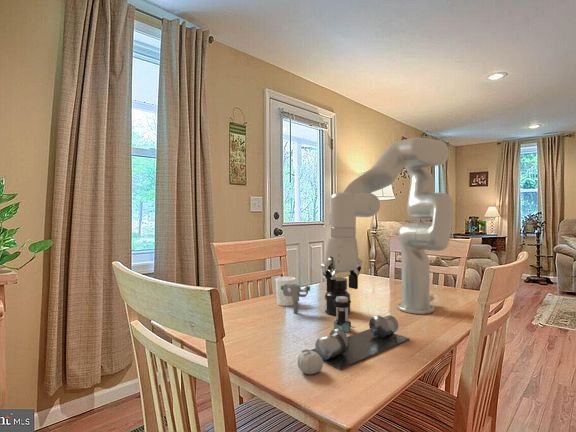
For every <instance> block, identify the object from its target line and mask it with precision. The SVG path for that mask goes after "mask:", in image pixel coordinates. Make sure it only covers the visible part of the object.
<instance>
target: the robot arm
mask: <svg viewBox="0 0 576 432" xmlns="http://www.w3.org/2000/svg"><path fill="white" fill-rule="evenodd" d="M449 156H450V149H449V147H448V146H447V143H445V142H444V141H442V140H440V139H435V138H434V139H432V138H426V137H411V138H408V139H401V140H397V141H394V142H392V143H390V144H389V145H388V146H387V147H386V149H385V150H384V151H383V153H382V154H381V155H380V157H379V158H378V159H377V160H376V162H375V163H374V165H373V166H372V167H371V168H369V169H368V170H366V171H365V172H363V173H362V174H361V175H359V176H357V178H355V179H353V180H352V181H351V182H349V184H348V185H347V186H346V187H345V188H344V189H343V190H342V192H335V193H333V194H331V196H330V237H329V238H328V240H327V245H326V252H325V261H324V262H322V264H320V268H321V271H322V274H323V276H324V278H325V279H326V292H330V293H336V280H335V279H334V278H335V277H337V274H338V273H346V272H347V273H349V274H348V288H349V289H354V290H358V288H359V276H360V272H361V271H362V266H363V263H364V262H363V259H361V258H359V251H358V248H359V247H358V241H357V238H356V237H357V235H356V234H357V231H356V230H357V229H356V228H357V227H356V226H357V224H356V223H357V218H371V217H374V216H375V215H377V214H378V213H379V211H380V208H381V202H380V199H379V197H377V195H375V194H373V193H375V192H377V191H380V190H383V189H385V188H386V187H389V186H391V185H392V184H393V183H395V181H396V179H397V178H398V176H399V174H401V172H402V171H403V169H404V168H405V170H406V172H407V173H408V176H409V180H410V181H409V182H410V183H409V192H408V198H407V204H406V212H407V215H408V217H409V218H410V219H414V220H422V221H423V220H428V221H429V220H430V221H431V220H432V221H431V222H419V221H418V222H416V221H415V222H407V223H404V224H403V225H401V227H400V228H399V229H398V235H397V236H398V241H399V247H400V255H401V302H399V303H397V305H396V306H397V307H396V308H397V309H398V310H399V311H402V312H404V313H408V314H413V315H414V314H415V315H417V314H418V315H427V314H432V313H434V311H435V307H434V306H433V304H431V301H434V300H435V296H434V295H432V294H431V295H430V259H429V257H428V254H427V252H426V251H432V252H433V251H435V252H438V251H439V252H441V251H444V250H446V248H447V247H448V246H449V244H450V240H451V234H452V226H453V219H454V211H455V210H454V209H455V207H454V201H453V198H452V197H451V196H450V195H449V194H448V193H445V192H435V187H436V183H435V182H436V180H435V177H434V176H433V174H432V173H431V171H430V170H429V169H428V167H436V166H441V165H443V164H445V163H446V162H447V161H448V159H449Z"/></svg>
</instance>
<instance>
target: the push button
mask: <svg viewBox="0 0 576 432" xmlns="http://www.w3.org/2000/svg"><path fill="white" fill-rule="evenodd" d="M333 302H334V306H335V307H336V315H335V320H334V322H333V330H334V329H341V330H342V331H344V332H345V333H349V332H350V331H354V332H355V331H356V329H355V328H356V326H354V325H353V326H352V322H351V321H350V319H349V314H348V307H350V308H351V302H352V301H351V299H350V300H349V299H348V297H346V296H337V297H336V299H334V300H333Z"/></svg>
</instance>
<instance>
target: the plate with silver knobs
mask: <svg viewBox="0 0 576 432" xmlns="http://www.w3.org/2000/svg"><path fill="white" fill-rule="evenodd" d="M368 326H369V328H367V329H366V330H363V331H359V332H358V333H355V334H352V335H349V336H348V335H347V334H346V332H344V331H342V330H341V329H334V328H333V329H332V330H331V331H330V333H329V334H328V335H326V336H323V337H320V338H317V340H316V341H315V344H314V347H315V348H312V349H310V350H309V349H308V350H309V351H314V352H316V353H317V354H319V355H320V357H321V358H322V360H323V363H325V364H327V365H328V366H331V367H334V368H336V369H337V370H340V371H343V370H345V369H347V368H349V367H351V366H354V365H356V364H358V363H361V362H363V361H365V360H368V359H370V358H372V357H375V356H377V355H379V354H381V353H383V352H386V351H388V350H391V349H393V348H394V347H397V346H400V345H402V344H404V343H406V342H409V341H410V337H407V336H403V335H401V334H396V332H398V330H399V322H398V320H397V318H395V316H393V315H386V316H380V315H375V316H372V317H371V318H370V320H369V325H368Z"/></svg>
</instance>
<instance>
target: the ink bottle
mask: <svg viewBox="0 0 576 432" xmlns="http://www.w3.org/2000/svg"><path fill="white" fill-rule="evenodd" d="M334 279H335V280H336V293H330V292H327V291H326V292H325V294H324V311H325V314H329V315H330V316H331V315H332V316H336V307H335V306H334V302H333V300H334V299H336V297H337V296H346V297H348V299H349V300H351V294H350V292H348V291H347V289H348V279H347V278H346V277H343V276H342V277H341V276H340V277H339V276H336V277H335V278H334ZM350 313H351V306H350V307H348V315H349V314H350Z"/></svg>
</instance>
